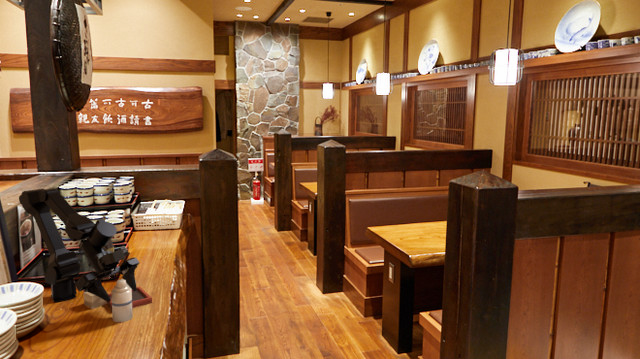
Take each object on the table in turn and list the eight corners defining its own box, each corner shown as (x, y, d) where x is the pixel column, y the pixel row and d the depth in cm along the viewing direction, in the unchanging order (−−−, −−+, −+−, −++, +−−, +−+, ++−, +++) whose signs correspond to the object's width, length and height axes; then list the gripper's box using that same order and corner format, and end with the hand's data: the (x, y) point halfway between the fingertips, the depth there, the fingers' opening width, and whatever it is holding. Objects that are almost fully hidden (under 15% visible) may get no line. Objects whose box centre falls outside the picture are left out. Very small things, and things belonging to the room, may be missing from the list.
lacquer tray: (114, 312, 135) (114, 307, 135) (104, 299, 144) (104, 294, 143) (151, 302, 143) (151, 297, 142) (140, 291, 151) (139, 286, 151)
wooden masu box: (92, 309, 137) (91, 296, 136) (84, 305, 140) (83, 292, 139) (107, 304, 141) (106, 291, 140) (99, 300, 144) (98, 287, 143)
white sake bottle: (115, 324, 128) (113, 286, 126) (110, 317, 132) (108, 280, 130) (135, 318, 132) (134, 281, 130) (129, 312, 136) (127, 276, 134)
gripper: (79, 248, 122) (107, 292, 119) (134, 233, 138) (160, 271, 135) (64, 269, 127) (90, 313, 123) (119, 252, 143) (143, 290, 140)
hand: (123, 295), depth 130 cm, fingers open, 9 cm apart
